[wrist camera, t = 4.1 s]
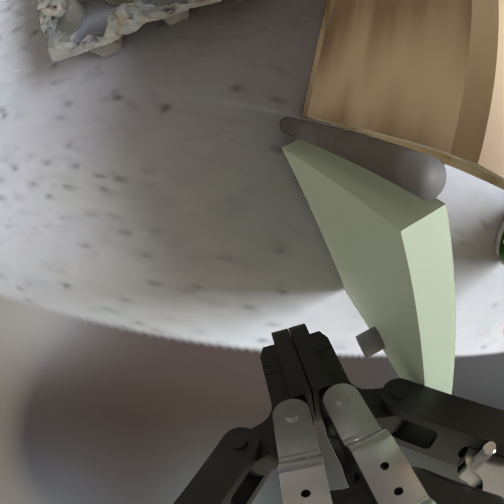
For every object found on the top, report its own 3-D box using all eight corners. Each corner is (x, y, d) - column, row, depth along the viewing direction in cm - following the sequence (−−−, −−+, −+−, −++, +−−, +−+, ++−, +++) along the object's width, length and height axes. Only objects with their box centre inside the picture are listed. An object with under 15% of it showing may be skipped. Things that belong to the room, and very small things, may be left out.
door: (303, 136, 14) (445, 204, 5) (362, 283, 19) (449, 407, 10) (262, 157, 14) (356, 256, 5) (332, 300, 19) (405, 434, 10)
